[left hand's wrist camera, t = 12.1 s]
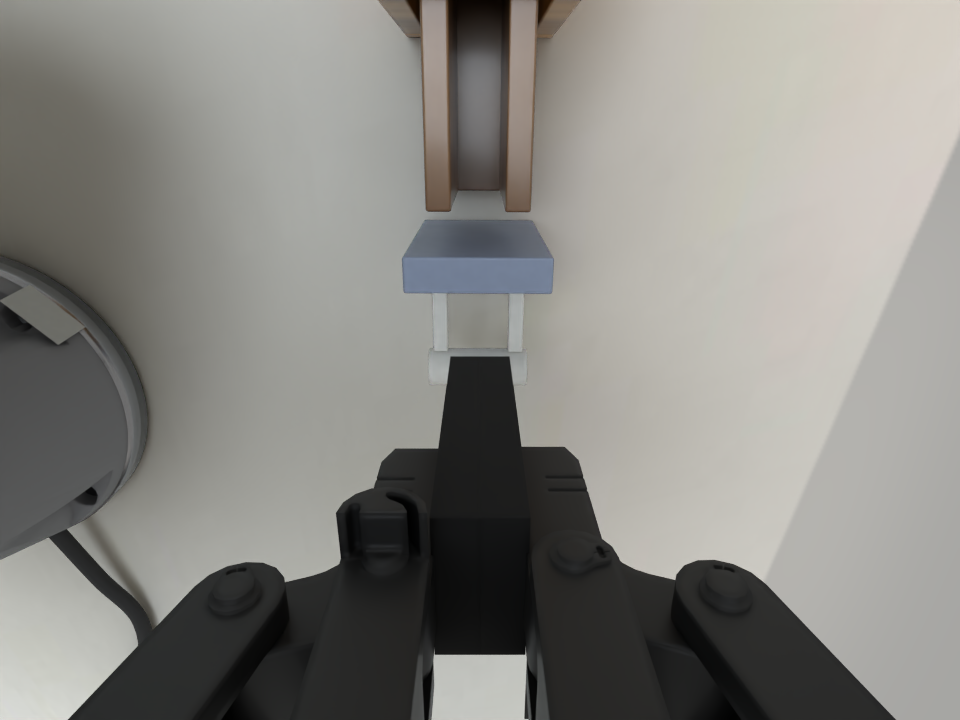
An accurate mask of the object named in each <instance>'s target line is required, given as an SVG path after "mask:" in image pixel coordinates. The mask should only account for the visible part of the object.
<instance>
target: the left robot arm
mask: <svg viewBox="0 0 960 720" xmlns="http://www.w3.org/2000/svg"><path fill="white" fill-rule="evenodd" d="M147 427H148V421H147V407H146V401H145V396H144V392H143V388H142V385H141V382H140V380H139V377H138V374H137V372H136V370H135V367H134V365H133V363H132V361H131V359H130V357H129V356H128V354H127V352H126V351H125V349H124V347H123V346H122V344H121V343H120V341H119V340H118V339H117V337H116V336H115V334H114V333H113V332H112V331H111V329H110V328H109V327H108V326H107V325H106V323H105V322H104V321H103V320H102V319H101V318H100V317H99V316H98V315H97V314H96V313H95V312H94V311H93V310H92V309H91V308H90V307H89V306H88V305H87V304H86V303H84V302H83V301H82V300H81V299H80V298H79V297H77V296H76V295H75V294H73V293H72V292H71V291H69V290H68V289H67V288H65V287H64V286H62V285H61V284H59V283H58V282H56V281H55V280H53V279H51V278H50V277H48V276H46V275H44V274H42V273H41V272H39V271H37V270H35V269H33V268H31V267H28V266H26V265H24V264H22V263H19V262H17V261H14V260H11V259H8V258H5V257H3V256H0V560H1V559H3V558H5V557H7V556H10V555H12V554H14V553H16V552H18V551H20V550H22V549H25V548H27V547H29V546H31V545H33V544H35V543H37V542H40V541H42V540H44V539H46V538H48V537H49V538H50V539H51V540H52V541H53V542H54V543H55V545H56V546H57V547H58V548H59V549H60V550H61V551H62V552H63V553H64V554H65V555H66V556H67V558H68V559H69V560H70V561H71V562H72V563H73V564H74V565H75V566H76V567H77V568H78V569H79V570H80V571H81V573H82V574H83V575H84V576H85V577H86V578H87V579H88V580H89V581H90V582H91V583H92V584H93V585H94V586H95V587H96V588H97V589H98V590H99V591H100V592H101V593H103V594H104V595H105V596H106V597H107V598H108V599H110V600H111V601H112V602H113V603H115V604H116V605H117V606H118V607H119V608H120V609H121V610H122V611H123V612H124V613H125V614H126V615H127V616H128V617H129V619H130V620H131V622H132V624H133V626H134V629H135V631H136V634H137V639H138V647H137V648H136V649H135V650H134V651H133V652H132V653H131V654H130V655H129V656H128V657H127V658H126V659H125V660H124V661H123V662H122V663H121V665H120V666H119V667H118V668H117V669H116V670H115V671H114V672H113V673H112V674H111V675H110V676H109V677H108V678H107V679H106V680H105V681H104V682H103V683H102V685H101V686H100V687H99V688H98V689H97V690H96V691H95V692H94V693H93V694H92V695H91V696H90V697H89V698H88V699H87V700H86V701H85V702H84V703H83V704H82V706H81V707H80V708H79V709H78V710H77V711H76V712H75V713H74V714H73V715H72V716H71V717H70V718H69V719H68V720H431V718H432V705H433V693H434V670H433V657H434V648H435V655H525V648H526V655H527V670H526V694H525V719H529V720H896V719H895V718H894V717H893V716H892V715H891V714H890V713H889V712H888V711H887V710H886V709H885V708H884V707H883V706H882V705H881V704H880V703H879V702H878V701H877V700H876V699H875V698H874V696H873V695H872V694H871V693H870V692H869V691H868V690H867V689H866V688H865V687H864V686H863V685H862V684H861V683H860V682H859V681H858V680H857V679H856V678H855V677H854V676H853V675H852V674H851V672H850V671H849V670H848V669H847V668H846V667H845V666H844V665H843V664H842V663H841V662H840V661H839V660H838V659H837V658H836V657H835V656H834V655H833V654H832V653H831V652H830V651H829V650H828V649H827V647H826V646H825V645H824V644H823V643H822V642H821V641H820V640H819V639H818V638H817V637H816V636H815V635H814V634H813V633H812V632H811V631H810V630H809V629H808V628H807V627H806V626H805V624H804V623H803V622H802V621H801V620H800V619H799V618H798V617H797V616H796V615H795V614H794V613H793V612H792V611H791V610H790V609H789V608H788V607H787V606H786V605H785V604H784V603H783V602H782V600H781V599H780V598H779V597H778V596H777V595H776V594H775V593H774V592H773V591H772V590H771V589H770V588H769V587H768V586H767V585H766V584H765V583H764V582H762V581H761V580H760V579H759V578H757V577H756V576H755V575H754V574H752V573H751V572H749V571H747V570H745V569H742V568H740V567H738V566H736V565H734V564H730V563H726V562H721V561H717V560H698V561H695V562H692V563H690V564H687V565H684V566H683V568H682V569H681V570H680V571H679V572H678V574H677V575H676V580H672V579H668V578H664V577H659V576H655V575H651V574H647V573H644V572H641V571H638V570H635V569H633V568H631V567H629V566H627V565H625V564H623V563H622V562H621V561H620V560H619V557H618V556H617V554H616V552H615V551H614V549H613V547H612V546H610V545H609V544H608V543H607V542H605V541H604V540H603V539H602V538H601V534H600V531H599V527H598V524H597V521H596V517H595V514H594V511H593V507H592V504H591V501H590V497H589V494H588V492H587V487H586V484H585V480H584V479H583V474H582V470H581V467H580V464H579V460H578V459H577V458H576V457H575V456H574V455H573V454H571V453H570V452H569V451H568V450H567V449H566V448H565V447H521V441H520V433H519V425H518V418H517V410H516V402H515V394H514V387H513V379H512V371H511V364H510V356H450V364H449V371H448V379H447V387H446V394H445V402H444V410H443V418H442V425H441V433H440V441H439V448H438V449H395V450H394V451H393V452H392V453H390V454H389V455H388V456H387V457H386V458H385V459H384V460H383V461H382V462H381V466H380V469H379V473H378V476H377V480H376V483H375V486H374V488H373V489H369V490H366V491H363V492H360V493H358V494H355V495H354V496H352V497H351V498H349V499H348V500H346V501H345V502H343V504H342V505H341V507H340V508H339V509H338V511H337V512H336V517H337V526H338V535H339V544H340V553H341V561H340V564H339V565H337V566H335V567H333V568H332V569H330V570H328V571H326V572H323V573H320V574H317V575H314V576H310V577H306V578H302V579H298V580H293V581H289V582H285V581H284V577H283V576H282V574H281V573H280V572H279V571H278V570H277V568H275V567H272V566H270V565H267V564H265V563H251V562H245V563H241V564H236V565H232V566H227V567H225V568H223V569H221V570H219V571H217V572H215V573H212V574H210V575H209V576H207V577H206V578H205V579H204V580H202V581H201V582H200V583H199V584H197V585H196V586H195V587H194V588H193V589H192V590H191V591H190V592H189V593H188V594H187V595H186V596H185V597H184V598H183V599H182V600H181V602H180V603H179V604H178V605H177V606H176V607H175V608H174V609H173V610H172V611H171V612H170V613H169V614H168V615H167V616H166V617H165V618H164V619H163V620H162V621H161V623H160V624H159V625H158V626H157V627H156V628H155V629H154V630H153V631H152V627H151V624H150V621H149V619H148V617H147V615H146V613H145V611H144V610H143V608H142V607H141V606H140V604H139V603H138V602H137V601H136V600H135V599H134V598H133V597H132V596H131V595H130V594H129V593H128V592H127V591H126V590H125V589H123V588H122V587H121V586H120V585H119V584H118V583H116V582H115V581H114V580H113V579H112V578H111V577H110V576H109V575H108V574H107V573H106V572H105V571H104V570H103V569H102V568H101V567H100V566H99V565H98V564H97V562H96V561H95V560H94V559H93V558H92V557H91V556H90V555H89V554H88V552H87V551H86V550H85V549H84V548H83V547H82V546H81V545H80V544H79V542H78V541H77V540H76V539H75V538H74V537H73V536H72V535H71V533H70V532H69V531H68V530H67V528H69V527H71V526H73V525H76V524H78V523H79V522H81V521H83V520H85V519H87V518H88V517H90V516H91V515H92V514H94V513H95V512H96V511H98V510H99V509H100V508H101V507H102V506H103V505H104V504H105V503H106V502H107V501H108V500H109V499H110V498H111V497H112V496H113V495H114V494H115V493H116V492H117V491H118V490H119V489H120V488H121V487H122V486H123V485H124V484H125V483H126V482H127V481H128V479H129V478H130V477H131V475H132V474H133V472H134V471H135V469H136V467H137V465H138V463H139V461H140V459H141V456H142V454H143V451H144V447H145V443H146V438H147Z"/></svg>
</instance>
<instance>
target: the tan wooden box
mask: <svg viewBox="0 0 960 720" xmlns="http://www.w3.org/2000/svg"><path fill="white" fill-rule="evenodd" d="M378 1H379V2H380V4H381V5H382V6H383V7H384V9H385V10H386V11H387V12H388V14H389V15H390V16H391V17H392V18H393V20H394V21H395V22H396V23H397V25H398V26H399V27H400V28H401V30H402V31H403V32H404V33H405V34H406V36H407V37H421V31H420V0H378ZM580 1H581V0H538V24H537V38H551V37H552V36H553V35H554V34H555V33H556V31H557V30H558V29H559V28H560V26H561V25H562V24H563V23H564V21H565V20H566V19H567V17H568V16H569V15H570V14H571V12H572V11H573V10H574V9H575V7H576V6H577V5H578V4H579V2H580Z"/></svg>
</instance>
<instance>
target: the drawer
mask: <svg viewBox="0 0 960 720" xmlns="http://www.w3.org/2000/svg"><path fill="white" fill-rule="evenodd" d="M537 24H538V0H420V31H421V65H422V100H423V134H424V168H425V202H426V211H428V212H449V211H451V208H452V205H453V202H454V200H455V197H456V194H457V191H458V190H479V191H500V194H501V197H502V201H503V204H504V207H505V210H506V212H530V210H531V188H532V161H533V134H534V106H535V79H536V52H537ZM553 267H554V259H553V257H552V255H551V253H550V251H549V250H548V248H547V246H546V244H545V242H544V241H543V239H542V237H541V235H540V233H539V232H538V230H537V228H536V226H535V225H534V223H533V221H522V220H425V221H424V223H423V224H422V226H421V228H420V229H419V231H418V233H417V234H416V236H415V238H414V239H413V241H412V243H411V244H410V246H409V248H408V249H407V251H406V253H405V254H404V256H403V258H402V268H403V290H404V293H432V310H433V347H434V348H430V350H429V358H428V377H429V384H430V385H447V379H448V371H449V364H450V356H510V364H511V371H512V379H513V385H526V383H527V350H526V349H522V347H523V318H524V294H551V293H552V286H553ZM448 293H481V294H509V303H508V345H507V347H508V348H448V346H449V345H448Z"/></svg>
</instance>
